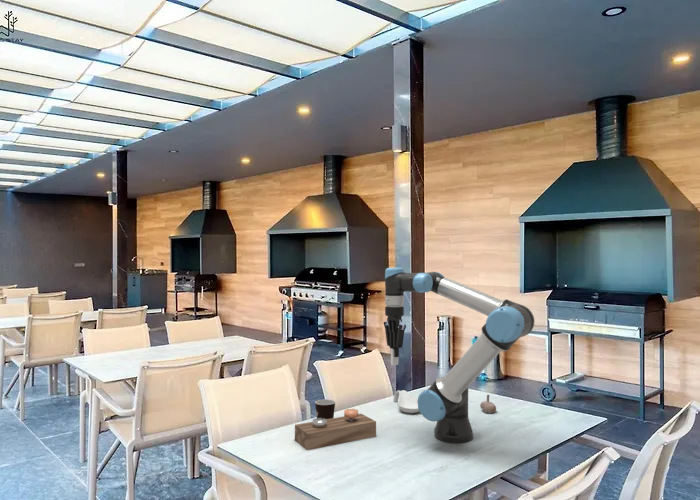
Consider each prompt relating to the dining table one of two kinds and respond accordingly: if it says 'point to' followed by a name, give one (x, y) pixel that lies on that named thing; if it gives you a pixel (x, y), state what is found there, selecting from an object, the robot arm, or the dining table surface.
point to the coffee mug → (325, 408)
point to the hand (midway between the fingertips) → (394, 364)
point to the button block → (335, 432)
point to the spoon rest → (406, 402)
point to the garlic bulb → (488, 406)
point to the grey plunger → (319, 422)
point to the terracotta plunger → (351, 414)
